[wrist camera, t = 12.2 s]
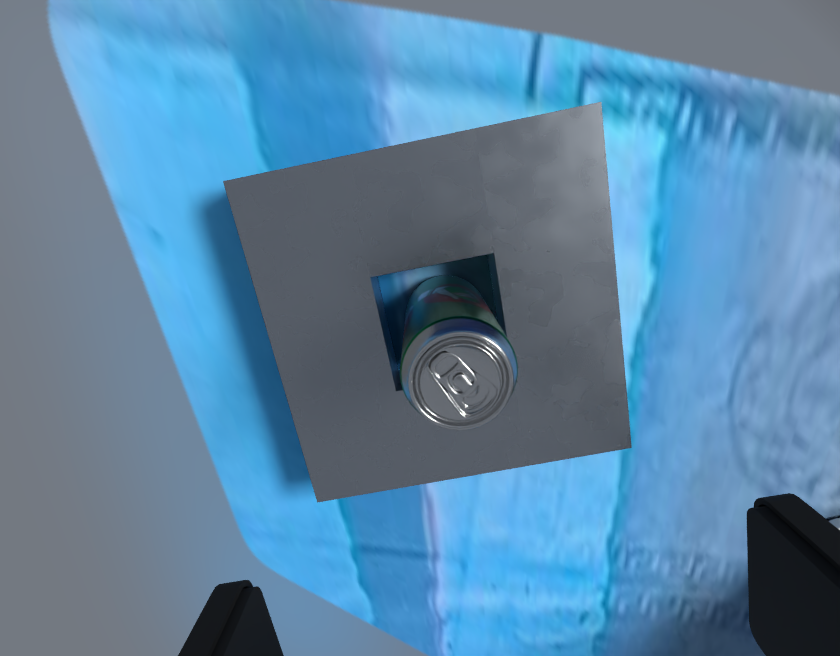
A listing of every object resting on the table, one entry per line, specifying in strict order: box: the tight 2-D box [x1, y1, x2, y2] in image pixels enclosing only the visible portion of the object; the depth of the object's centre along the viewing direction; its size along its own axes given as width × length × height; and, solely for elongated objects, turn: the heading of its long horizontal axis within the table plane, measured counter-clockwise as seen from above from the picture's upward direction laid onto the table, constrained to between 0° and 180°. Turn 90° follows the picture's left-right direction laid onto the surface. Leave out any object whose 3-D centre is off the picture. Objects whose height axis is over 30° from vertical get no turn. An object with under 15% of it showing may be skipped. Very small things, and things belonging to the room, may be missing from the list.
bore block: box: [223, 102, 631, 502], centre depth 29 cm, size 20×20×4 cm
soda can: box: [400, 275, 518, 430], centre depth 25 cm, size 5×5×12 cm
